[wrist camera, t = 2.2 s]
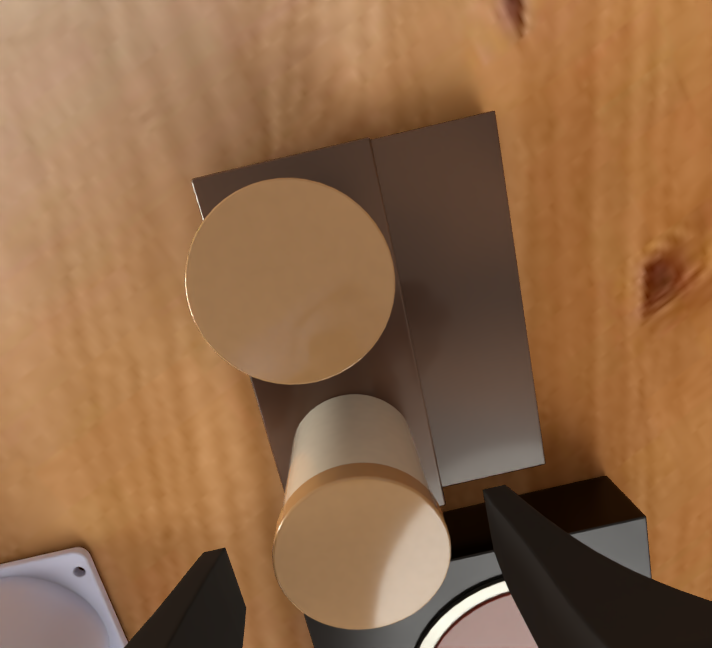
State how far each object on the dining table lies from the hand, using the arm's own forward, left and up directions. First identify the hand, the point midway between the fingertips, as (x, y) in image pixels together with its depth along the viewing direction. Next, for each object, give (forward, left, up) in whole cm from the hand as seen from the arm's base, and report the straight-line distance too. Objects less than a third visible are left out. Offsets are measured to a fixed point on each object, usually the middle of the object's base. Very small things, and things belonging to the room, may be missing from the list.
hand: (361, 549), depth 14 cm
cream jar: (0, 0, -6) cm, 6 cm away
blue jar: (+7, 0, -6) cm, 9 cm away
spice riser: (+4, -2, -8) cm, 9 cm away
